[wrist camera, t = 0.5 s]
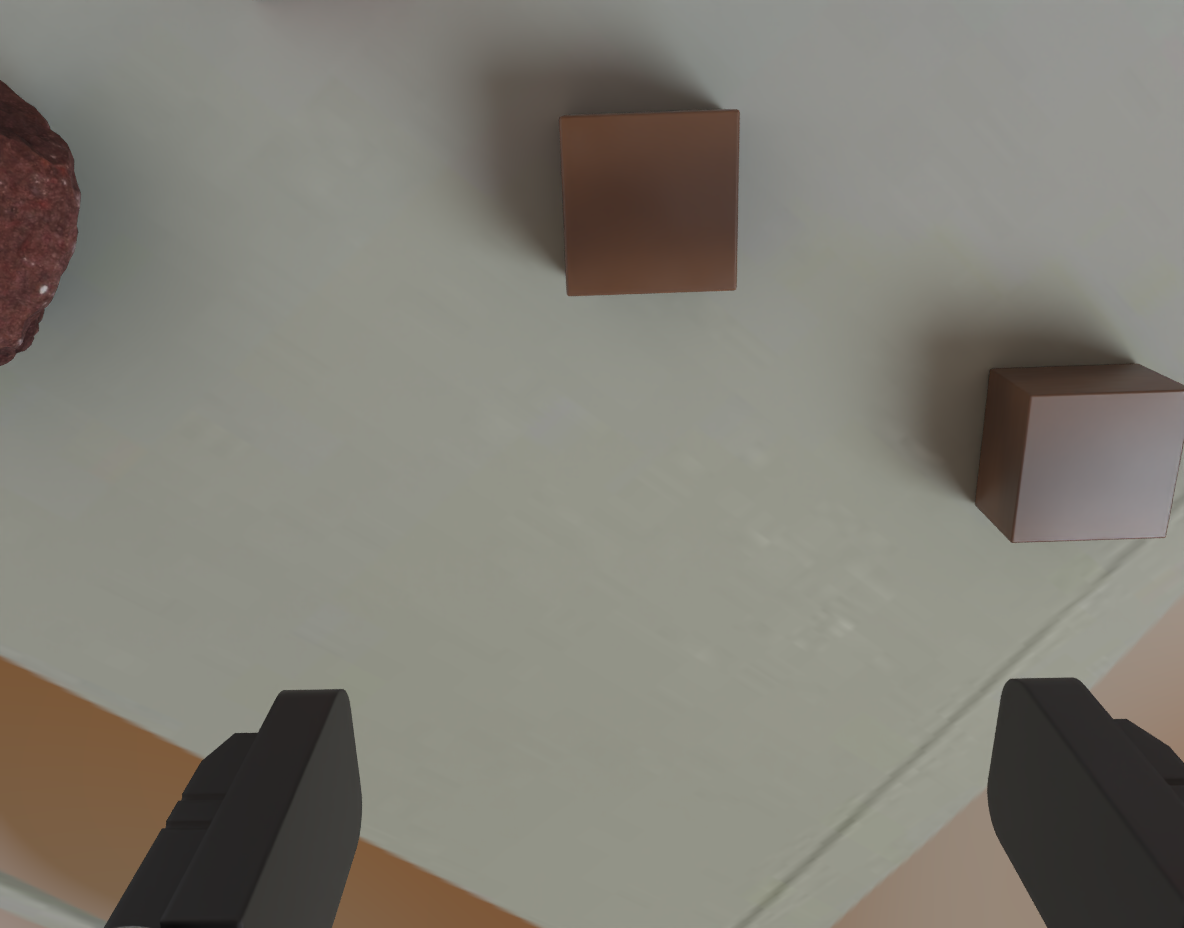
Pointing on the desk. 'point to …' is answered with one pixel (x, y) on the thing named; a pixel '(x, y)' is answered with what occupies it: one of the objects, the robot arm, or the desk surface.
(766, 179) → the desk surface
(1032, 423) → the dark reddish-brown block
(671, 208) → the brown wooden block
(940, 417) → the desk surface
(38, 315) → the rock
